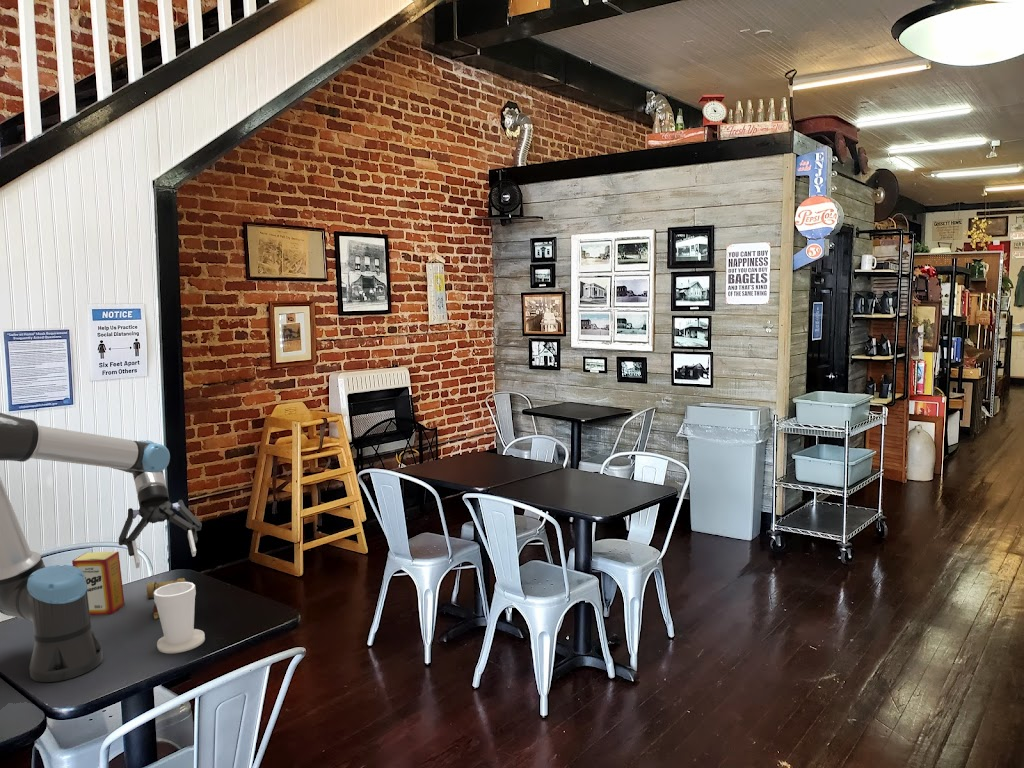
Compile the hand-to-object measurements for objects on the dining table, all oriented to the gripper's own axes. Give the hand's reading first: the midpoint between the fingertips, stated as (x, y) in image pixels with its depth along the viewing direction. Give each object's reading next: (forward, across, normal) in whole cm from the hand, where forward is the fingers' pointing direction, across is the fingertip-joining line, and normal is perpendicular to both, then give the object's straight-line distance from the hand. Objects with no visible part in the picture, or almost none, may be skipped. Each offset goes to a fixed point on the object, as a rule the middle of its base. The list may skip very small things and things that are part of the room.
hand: (166, 559), depth 202 cm
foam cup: (+20, 0, -5) cm, 21 cm away
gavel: (0, 0, -27) cm, 27 cm away
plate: (+21, 0, -5) cm, 22 cm away
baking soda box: (-5, +14, -32) cm, 36 cm away
